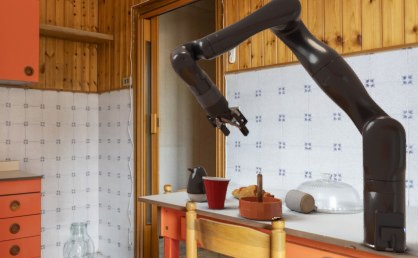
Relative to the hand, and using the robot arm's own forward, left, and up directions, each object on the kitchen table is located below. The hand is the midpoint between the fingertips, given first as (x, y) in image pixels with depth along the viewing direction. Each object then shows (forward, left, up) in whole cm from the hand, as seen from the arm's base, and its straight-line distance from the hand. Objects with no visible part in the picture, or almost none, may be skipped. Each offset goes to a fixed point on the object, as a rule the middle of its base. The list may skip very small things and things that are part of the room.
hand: (237, 134), depth 134 cm
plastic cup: (+20, +9, -29) cm, 36 cm away
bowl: (+8, -7, -29) cm, 31 cm away
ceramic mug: (+22, -22, -29) cm, 42 cm away
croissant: (+43, -4, -29) cm, 52 cm away
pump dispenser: (+34, +18, -29) cm, 48 cm away
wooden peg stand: (+8, -7, -28) cm, 30 cm away
